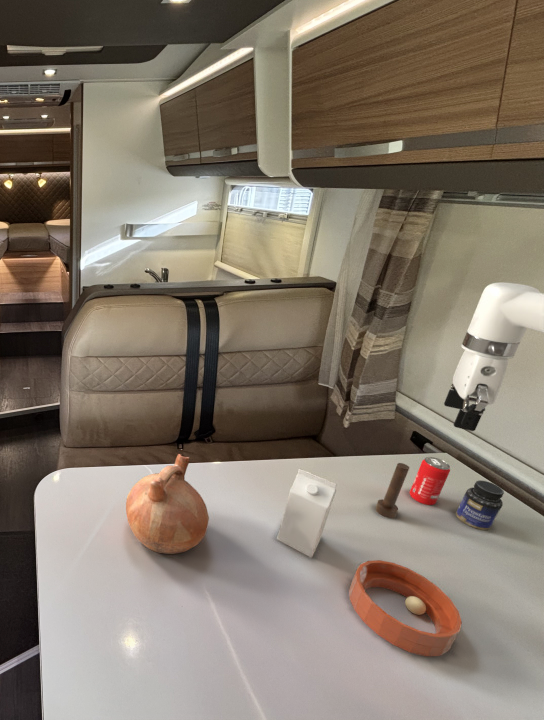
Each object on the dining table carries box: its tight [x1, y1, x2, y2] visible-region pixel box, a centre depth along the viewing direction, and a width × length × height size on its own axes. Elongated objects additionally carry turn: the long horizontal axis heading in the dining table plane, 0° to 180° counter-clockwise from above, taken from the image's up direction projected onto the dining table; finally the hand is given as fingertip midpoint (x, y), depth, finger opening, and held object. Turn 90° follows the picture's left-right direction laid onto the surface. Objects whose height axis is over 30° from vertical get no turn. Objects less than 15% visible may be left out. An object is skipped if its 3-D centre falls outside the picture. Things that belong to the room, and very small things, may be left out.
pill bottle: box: [455, 479, 505, 531], centre depth 101 cm, size 6×6×11 cm
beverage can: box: [409, 456, 451, 506], centre depth 108 cm, size 5×5×12 cm
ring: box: [348, 559, 463, 658], centre depth 81 cm, size 15×15×6 cm
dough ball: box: [404, 596, 426, 616], centre depth 82 cm, size 3×3×3 cm
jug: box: [125, 453, 210, 555], centre depth 97 cm, size 18×18×20 cm
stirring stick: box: [374, 462, 410, 519], centre depth 103 cm, size 4×4×15 cm
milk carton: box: [276, 468, 338, 558], centre depth 95 cm, size 7×7×19 cm
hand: (458, 417), depth 92 cm, fingers open, 9 cm apart
